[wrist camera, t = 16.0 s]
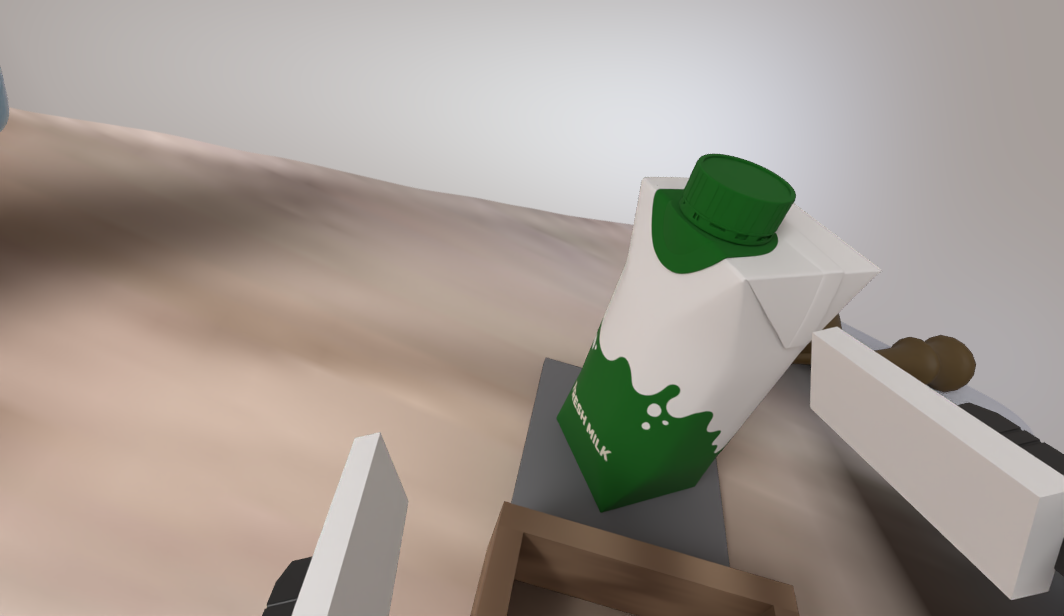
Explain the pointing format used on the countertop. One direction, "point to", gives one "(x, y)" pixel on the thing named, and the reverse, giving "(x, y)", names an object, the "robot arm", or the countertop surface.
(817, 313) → the soya milk
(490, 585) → the collar
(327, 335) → the countertop surface
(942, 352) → the kendama
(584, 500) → the rubber mat
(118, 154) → the countertop surface
